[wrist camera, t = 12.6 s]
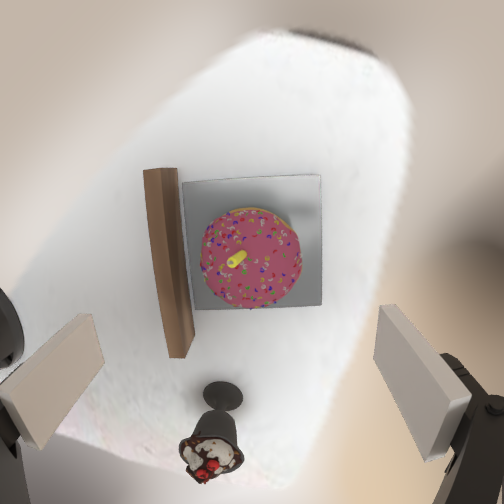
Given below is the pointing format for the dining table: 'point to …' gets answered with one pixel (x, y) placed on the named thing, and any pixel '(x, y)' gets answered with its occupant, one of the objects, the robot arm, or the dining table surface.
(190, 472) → the sundae
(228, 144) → the dining table surface
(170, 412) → the dining table surface
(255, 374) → the dining table surface
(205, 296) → the board
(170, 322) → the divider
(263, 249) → the cupcake
